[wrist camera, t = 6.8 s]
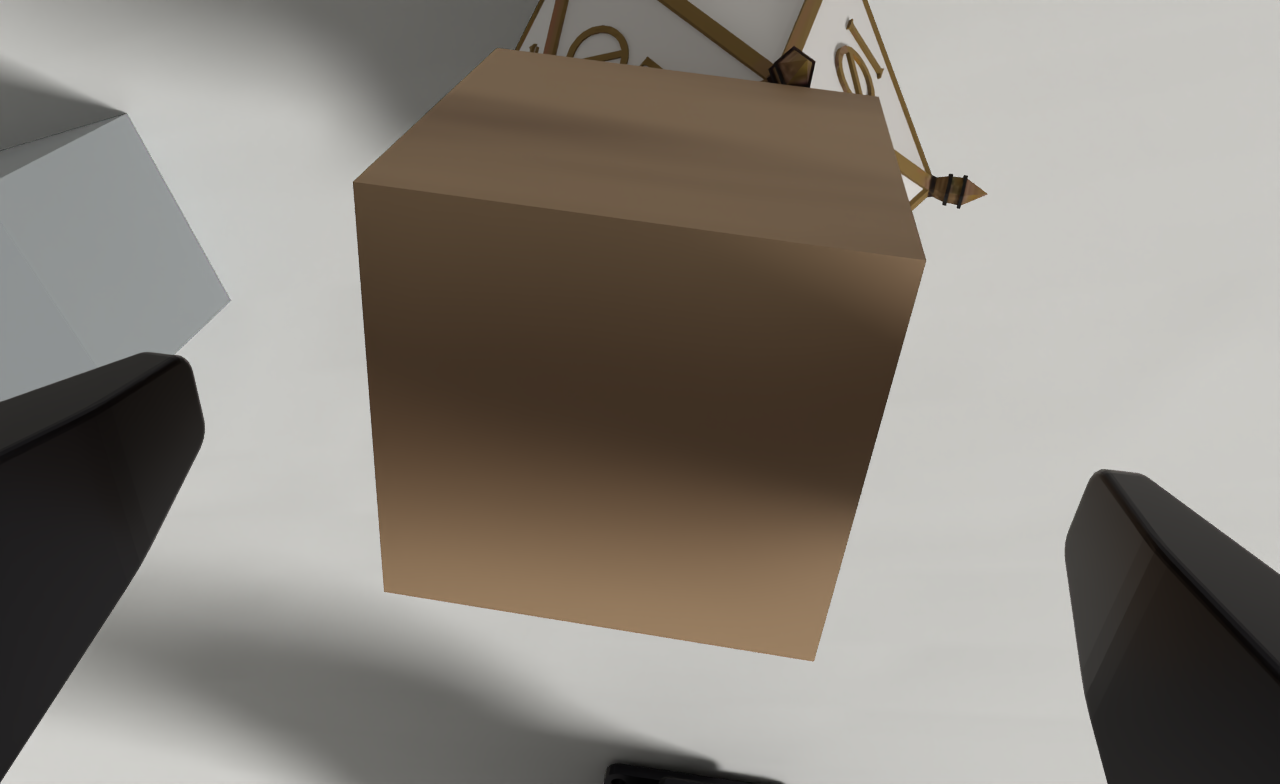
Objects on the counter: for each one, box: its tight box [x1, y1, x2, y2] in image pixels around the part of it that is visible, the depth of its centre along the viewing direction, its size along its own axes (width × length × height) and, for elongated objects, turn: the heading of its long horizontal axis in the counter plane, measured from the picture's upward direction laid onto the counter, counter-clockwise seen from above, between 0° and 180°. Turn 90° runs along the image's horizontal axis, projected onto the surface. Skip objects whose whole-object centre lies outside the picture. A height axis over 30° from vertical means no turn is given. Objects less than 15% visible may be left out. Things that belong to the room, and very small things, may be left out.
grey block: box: [0, 113, 231, 402], centre depth 22 cm, size 5×5×5 cm
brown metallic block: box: [353, 48, 926, 661], centre depth 12 cm, size 5×5×5 cm
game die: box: [515, 0, 987, 210], centre depth 17 cm, size 9×8×10 cm
